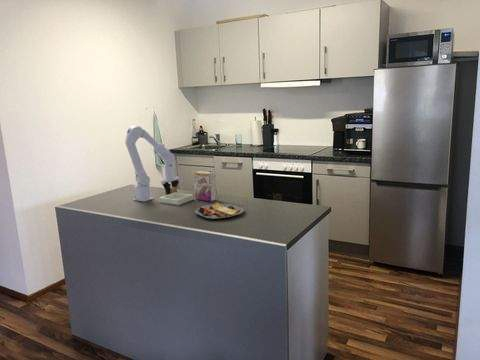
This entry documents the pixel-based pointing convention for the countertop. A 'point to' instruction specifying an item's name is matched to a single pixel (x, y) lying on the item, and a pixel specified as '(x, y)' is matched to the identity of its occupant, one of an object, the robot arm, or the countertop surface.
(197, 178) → the candy bar box
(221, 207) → the food plate
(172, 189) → the walnut block
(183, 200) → the pale green tray
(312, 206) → the countertop surface
